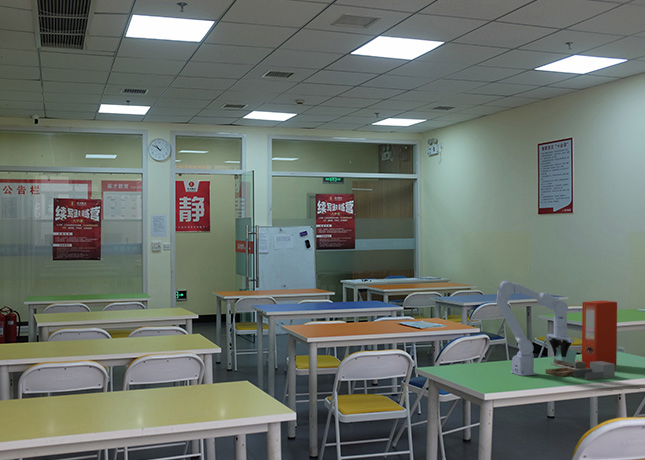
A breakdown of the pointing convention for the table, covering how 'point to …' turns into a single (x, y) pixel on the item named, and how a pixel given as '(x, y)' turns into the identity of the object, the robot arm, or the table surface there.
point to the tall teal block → (569, 357)
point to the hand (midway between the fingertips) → (560, 356)
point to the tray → (560, 372)
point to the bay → (596, 371)
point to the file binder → (599, 332)
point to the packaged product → (569, 364)
